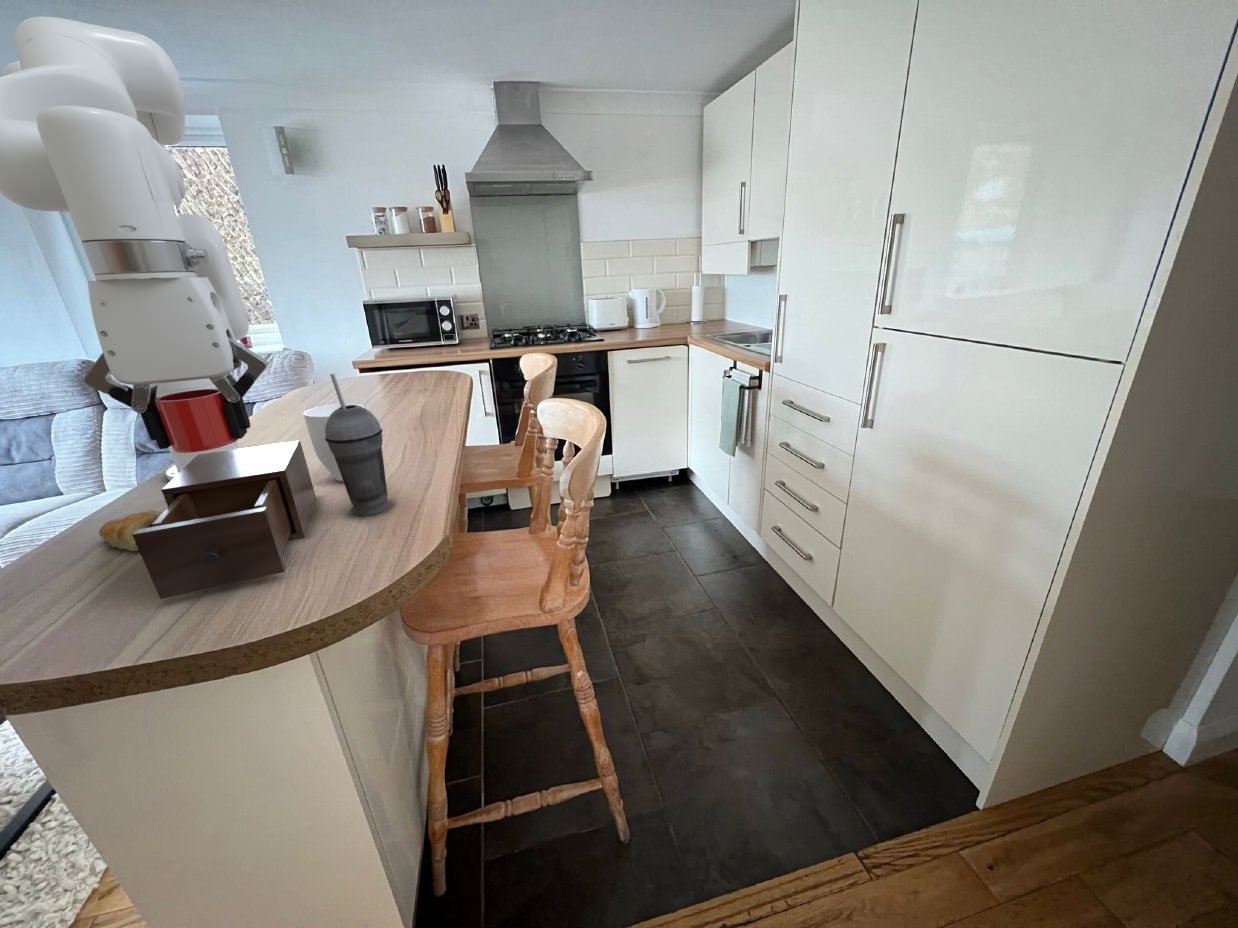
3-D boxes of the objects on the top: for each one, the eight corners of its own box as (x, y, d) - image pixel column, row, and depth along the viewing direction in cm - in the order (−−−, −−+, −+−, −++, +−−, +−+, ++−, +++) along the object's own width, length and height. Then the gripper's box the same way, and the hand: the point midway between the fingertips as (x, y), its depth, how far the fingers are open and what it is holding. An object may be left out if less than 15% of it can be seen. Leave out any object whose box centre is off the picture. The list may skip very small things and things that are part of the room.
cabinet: (304, 537, 67) (284, 470, 64) (188, 560, 63) (160, 489, 59) (316, 498, 79) (300, 440, 75) (219, 515, 74) (197, 454, 71)
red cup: (183, 440, 57) (165, 392, 55) (244, 432, 59) (229, 386, 57) (164, 456, 52) (144, 404, 50) (231, 447, 54) (215, 396, 52)
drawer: (282, 577, 57) (262, 515, 54) (155, 605, 52) (126, 540, 50) (299, 525, 68) (284, 472, 65) (197, 545, 64) (175, 489, 61)
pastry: (85, 547, 66) (73, 522, 65) (140, 524, 73) (130, 500, 71) (141, 553, 65) (129, 527, 63) (192, 528, 71) (183, 504, 69)
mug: (373, 482, 84) (356, 412, 80) (314, 489, 82) (295, 418, 78) (385, 459, 95) (372, 396, 90) (334, 464, 93) (318, 401, 88)
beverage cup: (377, 521, 71) (344, 379, 63) (332, 518, 72) (295, 379, 65) (408, 499, 77) (381, 368, 70) (366, 496, 79) (335, 368, 71)
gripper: (256, 262, 55) (300, 420, 62) (47, 267, 49) (120, 443, 55) (240, 259, 49) (291, 437, 55) (-3, 266, 42) (86, 465, 49)
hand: (205, 438), depth 55 cm, fingers closed on red cup, 5 cm apart
